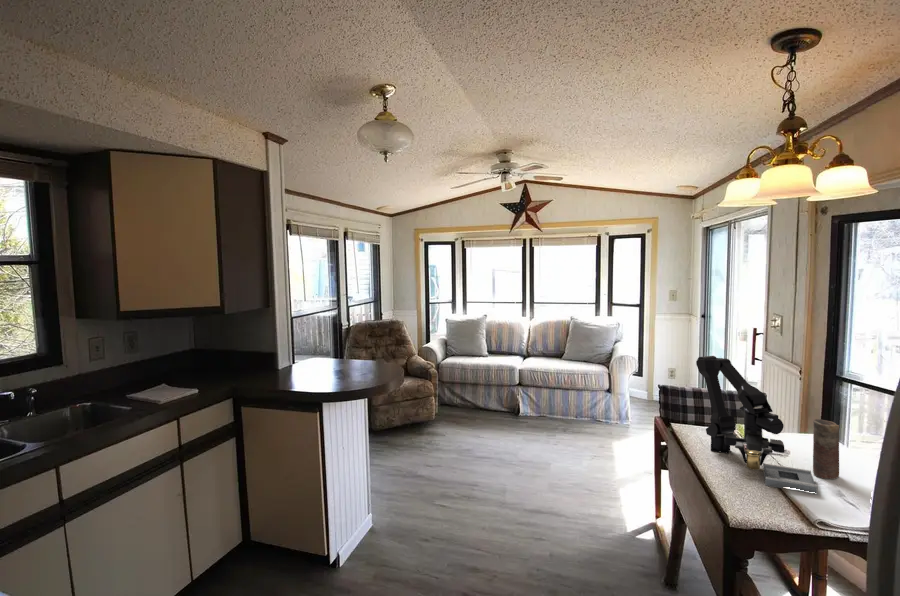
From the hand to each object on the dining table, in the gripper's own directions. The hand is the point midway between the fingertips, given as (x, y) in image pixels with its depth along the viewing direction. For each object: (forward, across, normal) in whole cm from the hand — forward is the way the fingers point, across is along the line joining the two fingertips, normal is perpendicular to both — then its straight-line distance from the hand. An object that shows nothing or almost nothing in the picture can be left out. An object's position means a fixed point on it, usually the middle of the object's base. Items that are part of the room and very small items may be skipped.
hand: (753, 464), depth 171 cm
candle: (+1, +22, +3) cm, 22 cm away
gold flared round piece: (+1, 0, 0) cm, 1 cm away
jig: (+1, +10, -8) cm, 13 cm away
